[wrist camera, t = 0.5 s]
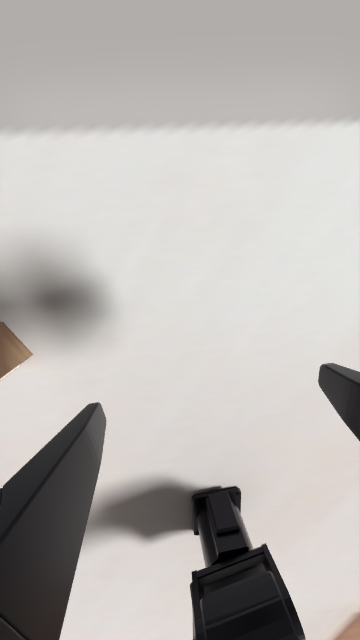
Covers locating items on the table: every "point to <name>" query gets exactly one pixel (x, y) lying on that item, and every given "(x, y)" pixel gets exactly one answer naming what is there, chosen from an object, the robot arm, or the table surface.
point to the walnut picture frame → (11, 351)
